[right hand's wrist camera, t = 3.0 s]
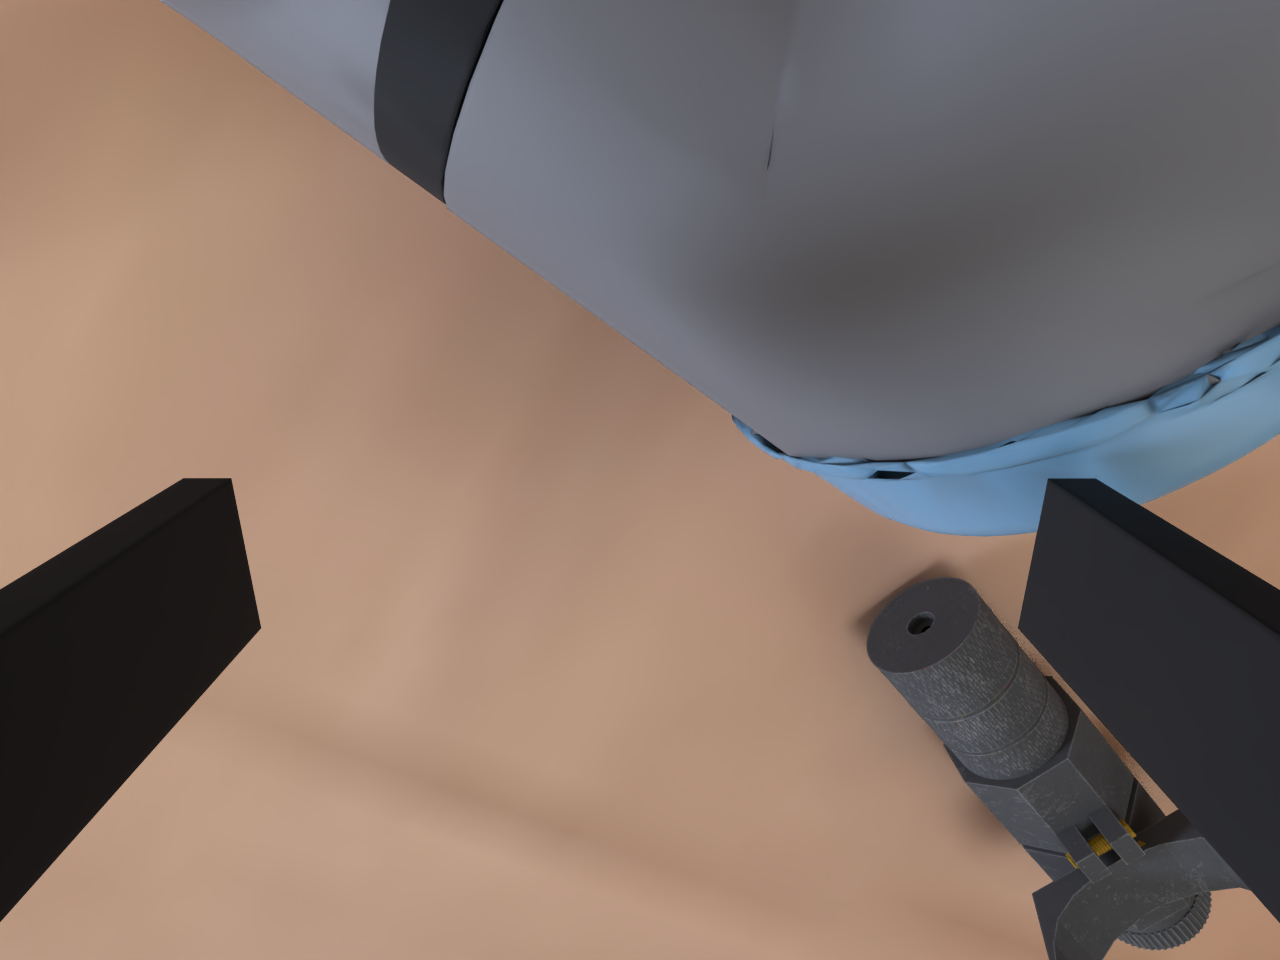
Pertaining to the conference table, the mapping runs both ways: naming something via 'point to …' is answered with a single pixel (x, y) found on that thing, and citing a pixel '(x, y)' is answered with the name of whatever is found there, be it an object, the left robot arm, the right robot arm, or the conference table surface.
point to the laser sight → (1047, 778)
